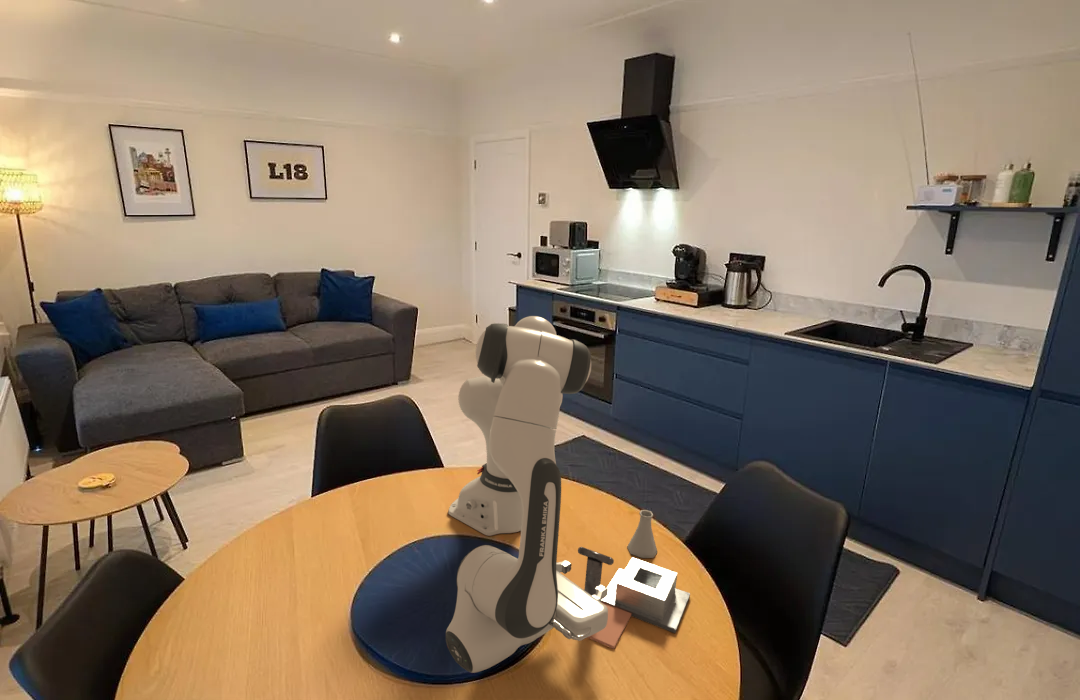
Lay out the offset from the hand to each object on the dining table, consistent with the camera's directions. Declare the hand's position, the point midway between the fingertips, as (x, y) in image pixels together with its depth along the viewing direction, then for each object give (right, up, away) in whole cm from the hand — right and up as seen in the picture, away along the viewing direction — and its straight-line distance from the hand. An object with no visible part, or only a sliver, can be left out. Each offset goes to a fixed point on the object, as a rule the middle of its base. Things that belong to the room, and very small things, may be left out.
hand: (586, 576), depth 105 cm
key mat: (+1, -10, +4) cm, 11 cm away
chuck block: (+13, -9, +10) cm, 19 cm away
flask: (+16, -5, +28) cm, 32 cm away
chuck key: (+1, -10, +4) cm, 10 cm away
